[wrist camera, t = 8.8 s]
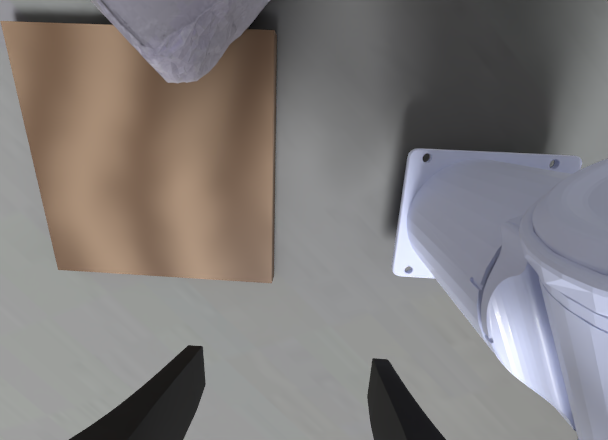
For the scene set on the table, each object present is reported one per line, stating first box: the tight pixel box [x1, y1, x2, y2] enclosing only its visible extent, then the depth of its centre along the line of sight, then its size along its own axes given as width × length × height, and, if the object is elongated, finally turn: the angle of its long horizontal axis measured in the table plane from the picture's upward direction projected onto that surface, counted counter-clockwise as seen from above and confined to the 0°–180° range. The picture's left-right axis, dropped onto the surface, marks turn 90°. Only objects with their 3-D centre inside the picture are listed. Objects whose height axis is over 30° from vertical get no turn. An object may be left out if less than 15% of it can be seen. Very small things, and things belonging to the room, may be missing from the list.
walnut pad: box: [1, 21, 277, 283], centre depth 19 cm, size 16×16×1 cm
